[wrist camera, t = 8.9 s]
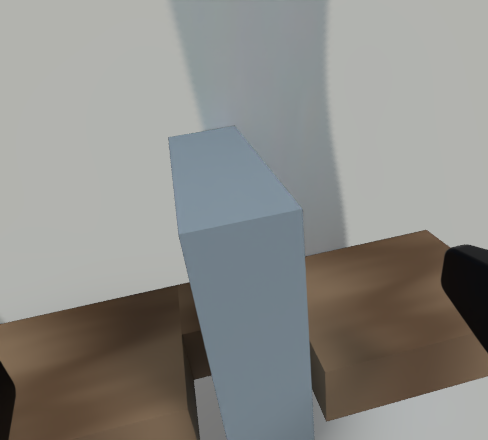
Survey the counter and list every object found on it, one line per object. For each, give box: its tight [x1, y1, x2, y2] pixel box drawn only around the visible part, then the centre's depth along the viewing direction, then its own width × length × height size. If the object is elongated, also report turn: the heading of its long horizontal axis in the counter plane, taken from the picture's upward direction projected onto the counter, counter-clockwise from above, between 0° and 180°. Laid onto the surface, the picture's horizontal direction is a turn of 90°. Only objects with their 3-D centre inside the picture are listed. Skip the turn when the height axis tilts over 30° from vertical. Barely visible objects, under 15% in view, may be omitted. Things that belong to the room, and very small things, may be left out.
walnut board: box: [0, 230, 488, 440], centre depth 12 cm, size 16×2×5 cm, turn 97°
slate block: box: [168, 126, 314, 440], centre depth 11 cm, size 12×2×6 cm, turn 7°
